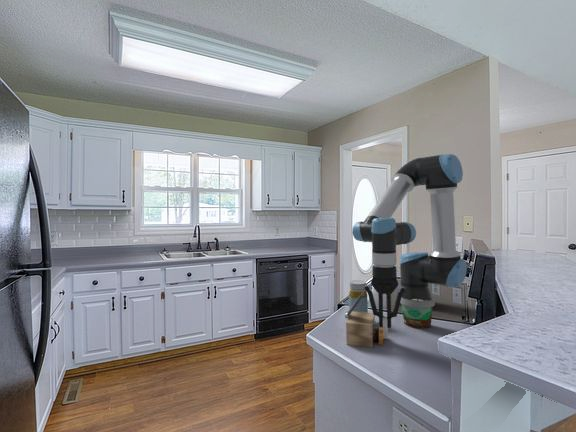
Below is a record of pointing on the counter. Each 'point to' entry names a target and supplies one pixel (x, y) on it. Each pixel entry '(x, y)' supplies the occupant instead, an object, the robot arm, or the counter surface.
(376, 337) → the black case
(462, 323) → the counter surface
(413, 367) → the counter surface
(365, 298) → the bottle
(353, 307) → the keeper
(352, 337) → the block
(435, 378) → the counter surface
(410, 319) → the food container
